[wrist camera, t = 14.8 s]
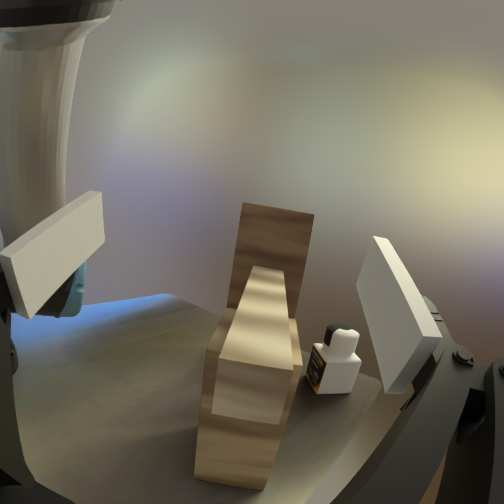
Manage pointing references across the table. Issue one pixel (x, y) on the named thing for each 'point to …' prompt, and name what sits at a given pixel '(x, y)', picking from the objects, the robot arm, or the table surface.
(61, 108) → the robot arm
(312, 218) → the stand
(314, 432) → the table surface
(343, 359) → the medicine bottle
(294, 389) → the base pedestal
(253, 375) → the wooden block
